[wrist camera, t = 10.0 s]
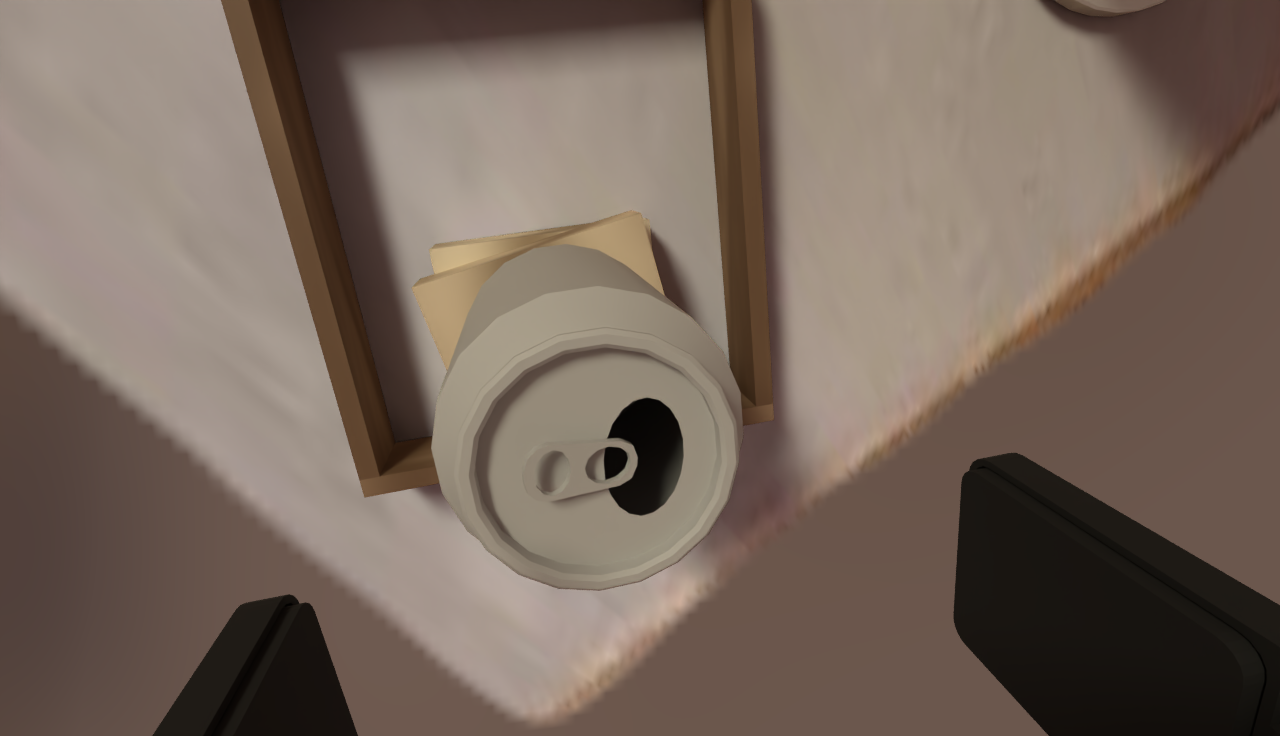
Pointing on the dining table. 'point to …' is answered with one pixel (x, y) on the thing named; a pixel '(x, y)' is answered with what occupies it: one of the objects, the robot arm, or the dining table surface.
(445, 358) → the offcut stack
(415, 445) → the wooden frame
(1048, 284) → the dining table surface
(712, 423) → the can
